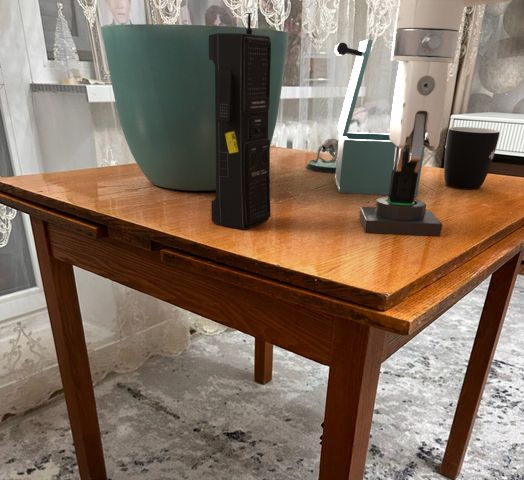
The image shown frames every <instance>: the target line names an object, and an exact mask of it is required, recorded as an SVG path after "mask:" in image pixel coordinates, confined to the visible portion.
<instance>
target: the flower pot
mask: <svg viewBox="0 0 524 480" xmlns="http://www.w3.org/2000/svg"><path fill="white" fill-rule="evenodd" d="M246 29H248V27H245V26H228V25H211V24H208V25H207V24H205V25H204V24H172V23H171V24H169V23H168V24H161V23H160V24H159V23H158V24H157V23H155V24H154V23H153V24H152V23H145V24H144V23H142V24H141V23H139V24H138V23H135V24H111V25H103V26H101V27H100V32H101V36H102V41H103V45H104V50H105V55H106V61H107V66H108V71H109V76H110V83H111V88H112V92H113V97H114V103H115V107H116V111H117V115H118V119H119V123H120V126H121V129H122V132H123V136H124V138H125V141H126V144H127V147H128V149H129V151H130V153H131V155H132V157H133V159H134V160H135V162H136V164H137V166H138V168H139V169H140V171H141V172H142V173H143V176H144V177H146V179H147V180H148V181H149V182H150V183H151V185H154V186H157V187H160V188H164V189H170V190H178V191H191V192H192V191H193V192H200V191H201V192H205V191H206V192H207V191H209V192H210V191H211V192H212V191H213V192H214V191H216V118H215V64H214V62H213V60H210V59H209V35H212V34H217V33H245V34H246ZM250 29H252V34H254V35H262V36H268V37H270V42H271V68H270V104H269V110H268V139H269V140H270V146H271V145H272V141H273V139H274V138H273V137H274V133H275V130H276V126H277V120H278V117H279V116H278V115H279V111H280V110H279V109H280V103H281V97H282V88H283V83H284V82H283V81H284V75H285V73H284V72H285V64H286V58H287V51H288V50H287V49H288V44H289V36H290V33H289V32H288V31H284V30H277V29H270V28H269V29H268V28H259V27H250Z"/></svg>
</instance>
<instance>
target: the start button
mask: <svg viewBox="0 0 524 480" xmlns="http://www.w3.org/2000/svg"><path fill="white" fill-rule="evenodd" d="M388 202H389V203H392V204H397V205H415V202H413V203H393V202H390V200H388Z"/></svg>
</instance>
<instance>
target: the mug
mask: <svg viewBox="0 0 524 480" xmlns="http://www.w3.org/2000/svg"><path fill="white" fill-rule="evenodd" d="M499 137H500V130H498V129H491V128H484V127H474V126H473V127H471V126H470V127H469V126H452V127H449V128H448V130H447V135H446V141H445V148H444V149H445V150H444V160H443V161H444V162H443V179H444V183H445V186H447V187H449V188H454V189H459V190H478V189H480V188H481V187H482V185H483V184H484V182H485V181H486V178H487V176H488V174H489V171H490V168H491V166H492V163H493V159H494V157H495V154H496V153H495V152H496V150H497V146H498V142H499Z"/></svg>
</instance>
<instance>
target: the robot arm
mask: <svg viewBox="0 0 524 480" xmlns="http://www.w3.org/2000/svg"><path fill="white" fill-rule="evenodd" d="M510 1H512V0H398V3H397V11H396V18H395V26H394V32H393V41H392V47H391V49H392V50H391V57H390V61H391V62H398V70H397V76H396V80H395V86H394V94H393V99H392V100H393V101H392V106H391V107H392V108H391V115H390V123H389V133H388V134H389V137H390V140H391V141H392V142H393V143H394V144H395V145H396V146H395V155H394V163H393V170H392V174H391V180H390V187H389V194H388V195H387V197H388V199H389V200H390V202H393V203H413V201H414V198H415V196H414V195H415V189H416V183H417V177H418V170H419V165H420V160H421V155H422V150H423V146H424V147H425V149H427V150H429V151H430V152H434V151H435V150H437V149H438V147H439V146H440V139H441V132H442V126H443V125H442V124H443V119H444V118H443V117H444V110H445V103H446V96H447V95H446V94H447V85H448V75H449V73H448V72H449V64H454V63H455V59H456V58H455V57H456V54H457V53H456V52H457V47H458V42H459V35H460V29H461V24H462V18H463V13H464V8H470V7H474V6H482V5H494V4H501V3H506V2H510Z"/></svg>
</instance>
